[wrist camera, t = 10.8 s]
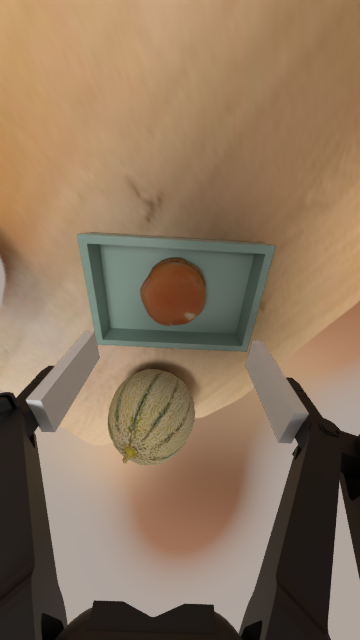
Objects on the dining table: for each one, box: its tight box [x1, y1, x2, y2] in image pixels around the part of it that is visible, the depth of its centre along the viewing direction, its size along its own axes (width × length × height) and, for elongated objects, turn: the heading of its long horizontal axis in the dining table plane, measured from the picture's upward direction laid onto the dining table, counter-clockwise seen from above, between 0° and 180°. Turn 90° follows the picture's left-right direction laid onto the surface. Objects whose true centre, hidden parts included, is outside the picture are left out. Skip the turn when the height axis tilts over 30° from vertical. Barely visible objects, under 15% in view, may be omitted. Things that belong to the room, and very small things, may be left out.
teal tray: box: [77, 232, 276, 352], centre depth 28 cm, size 16×24×4 cm, turn 87°
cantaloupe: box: [108, 369, 195, 465], centre depth 33 cm, size 15×15×15 cm
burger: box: [140, 257, 206, 326], centre depth 27 cm, size 10×9×5 cm
